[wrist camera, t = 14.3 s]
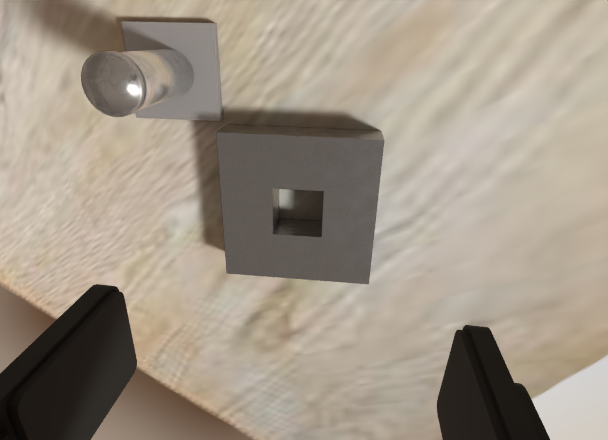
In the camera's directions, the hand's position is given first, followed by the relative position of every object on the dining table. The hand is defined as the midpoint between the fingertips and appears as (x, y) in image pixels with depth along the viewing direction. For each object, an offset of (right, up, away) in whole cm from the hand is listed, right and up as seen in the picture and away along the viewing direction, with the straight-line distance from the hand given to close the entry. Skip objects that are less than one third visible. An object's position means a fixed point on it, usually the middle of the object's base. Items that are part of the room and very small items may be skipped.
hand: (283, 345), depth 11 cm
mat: (-12, +18, +29) cm, 36 cm away
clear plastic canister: (-12, +18, +28) cm, 35 cm away
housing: (0, +6, +33) cm, 34 cm away
